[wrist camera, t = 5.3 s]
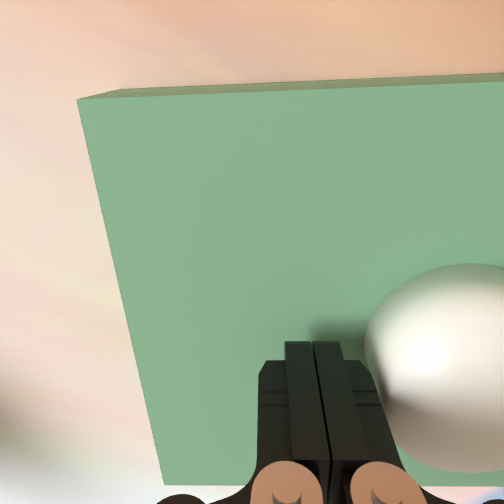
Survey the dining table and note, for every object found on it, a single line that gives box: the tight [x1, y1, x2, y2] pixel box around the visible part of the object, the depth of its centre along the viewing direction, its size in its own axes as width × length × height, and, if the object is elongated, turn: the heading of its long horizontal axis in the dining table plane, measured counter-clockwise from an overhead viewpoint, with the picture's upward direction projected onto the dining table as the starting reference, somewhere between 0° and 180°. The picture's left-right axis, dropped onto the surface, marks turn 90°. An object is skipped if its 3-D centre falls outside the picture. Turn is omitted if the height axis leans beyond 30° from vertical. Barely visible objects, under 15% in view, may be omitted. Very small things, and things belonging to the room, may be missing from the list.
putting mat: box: [76, 73, 504, 486], centre depth 13 cm, size 20×14×3 cm
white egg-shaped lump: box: [364, 263, 504, 473], centre depth 10 cm, size 5×5×2 cm
